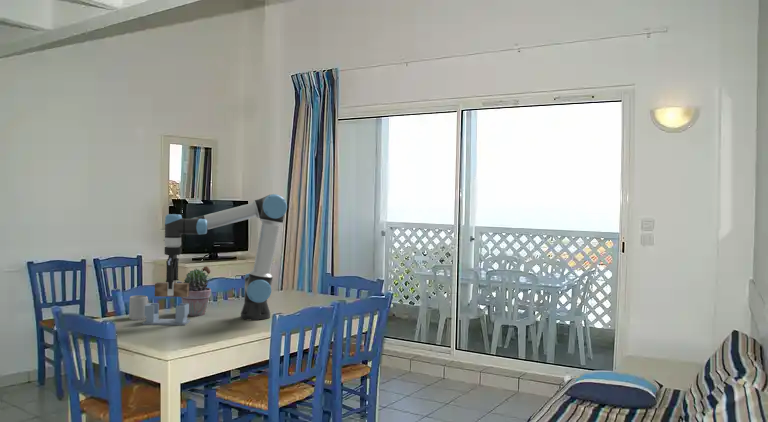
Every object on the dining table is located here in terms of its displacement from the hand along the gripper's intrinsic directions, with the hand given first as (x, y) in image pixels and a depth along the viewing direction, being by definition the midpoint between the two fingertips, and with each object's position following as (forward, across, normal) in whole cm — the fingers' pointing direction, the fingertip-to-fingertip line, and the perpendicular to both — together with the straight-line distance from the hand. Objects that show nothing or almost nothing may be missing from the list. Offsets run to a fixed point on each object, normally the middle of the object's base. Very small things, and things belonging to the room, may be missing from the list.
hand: (172, 294), depth 299 cm
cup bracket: (+15, -5, -4) cm, 16 cm away
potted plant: (+15, -28, +4) cm, 32 cm away
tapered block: (+1, 0, 0) cm, 1 cm away
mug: (+15, -18, -20) cm, 31 cm away
